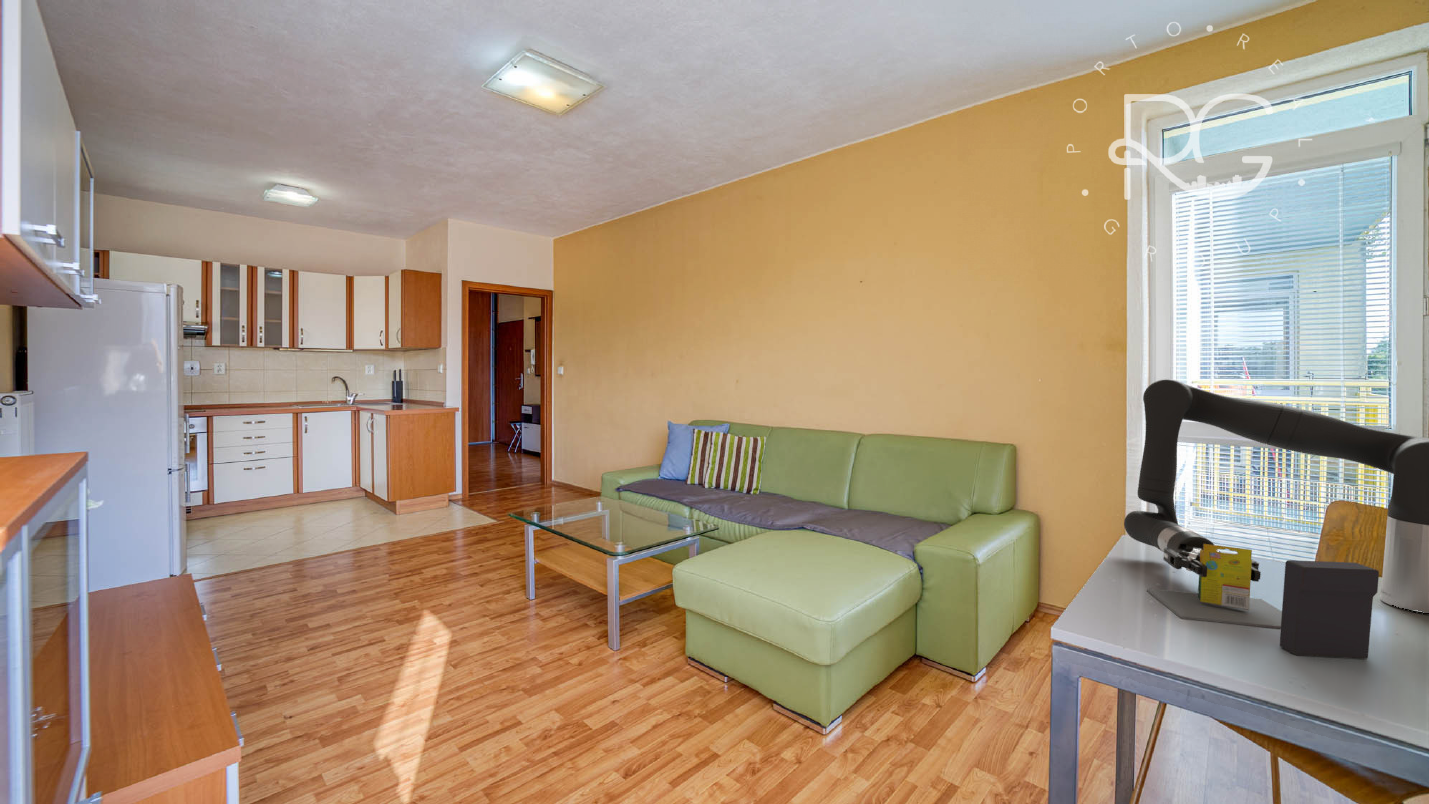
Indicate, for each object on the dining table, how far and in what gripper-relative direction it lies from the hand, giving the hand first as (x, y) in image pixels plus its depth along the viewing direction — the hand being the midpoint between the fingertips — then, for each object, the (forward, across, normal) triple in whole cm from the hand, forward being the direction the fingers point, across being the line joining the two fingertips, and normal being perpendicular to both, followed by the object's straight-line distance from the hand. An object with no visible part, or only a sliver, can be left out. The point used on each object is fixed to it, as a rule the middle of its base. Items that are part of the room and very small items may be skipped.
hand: (1230, 574), depth 111 cm
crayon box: (-2, 0, +7) cm, 7 cm away
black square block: (+14, +6, +8) cm, 17 cm away
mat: (-2, 0, +8) cm, 8 cm away
